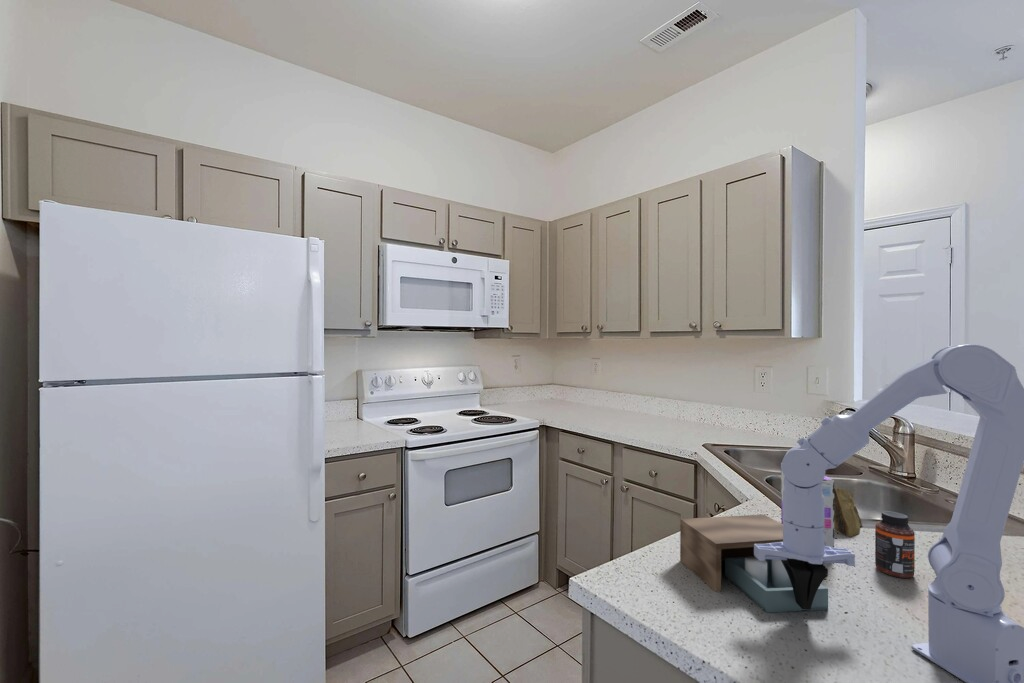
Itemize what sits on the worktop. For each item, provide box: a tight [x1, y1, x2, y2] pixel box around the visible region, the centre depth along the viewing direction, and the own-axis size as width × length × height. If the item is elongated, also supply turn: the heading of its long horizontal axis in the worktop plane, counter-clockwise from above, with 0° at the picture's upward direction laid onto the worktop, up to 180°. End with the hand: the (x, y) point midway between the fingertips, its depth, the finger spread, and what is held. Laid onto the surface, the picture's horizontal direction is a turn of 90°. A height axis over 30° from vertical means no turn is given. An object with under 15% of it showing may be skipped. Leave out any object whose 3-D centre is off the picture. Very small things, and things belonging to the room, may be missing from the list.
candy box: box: [780, 463, 835, 548], centre depth 102 cm, size 14×6×16 cm, turn 168°
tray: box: [724, 557, 829, 613], centre depth 81 cm, size 12×11×5 cm
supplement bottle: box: [874, 510, 916, 579], centre depth 89 cm, size 6×6×11 cm
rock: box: [834, 487, 863, 538], centre depth 111 cm, size 11×9×10 cm
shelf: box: [679, 513, 783, 593], centre depth 89 cm, size 12×19×8 cm, turn 100°
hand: (803, 605), depth 74 cm, fingers closed
